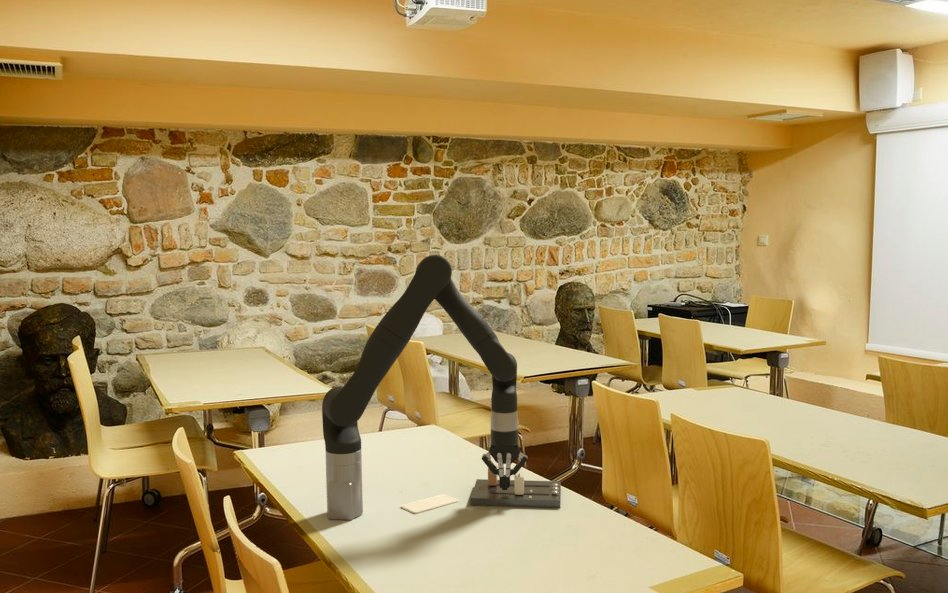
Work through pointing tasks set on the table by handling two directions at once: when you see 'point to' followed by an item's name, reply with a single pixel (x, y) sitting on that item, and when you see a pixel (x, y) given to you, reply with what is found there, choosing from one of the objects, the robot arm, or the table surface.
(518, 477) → the fader
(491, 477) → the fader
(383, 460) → the table surface
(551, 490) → the console
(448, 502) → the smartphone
